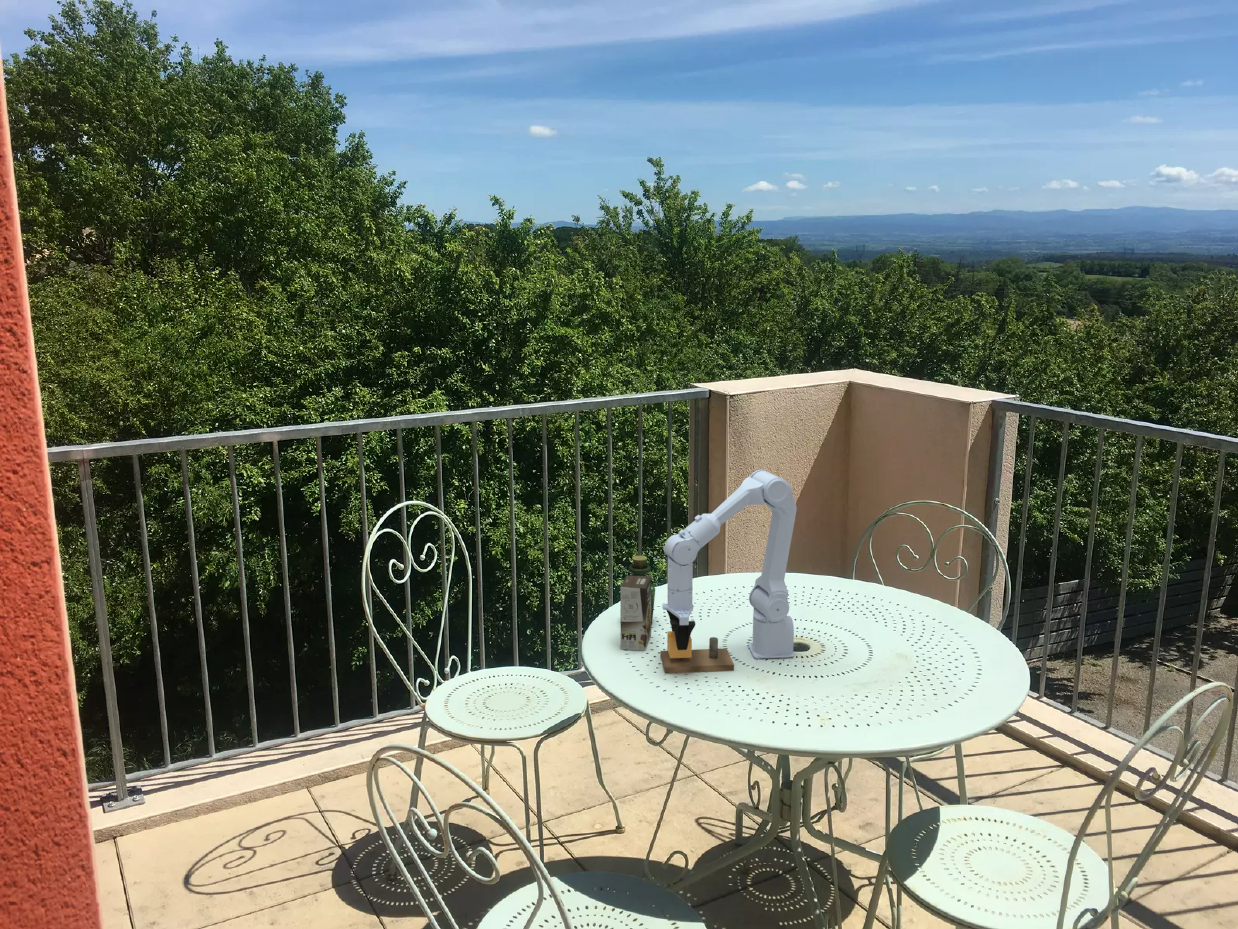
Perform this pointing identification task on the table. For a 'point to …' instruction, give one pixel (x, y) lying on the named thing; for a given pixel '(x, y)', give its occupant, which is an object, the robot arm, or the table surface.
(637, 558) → the potion bottle
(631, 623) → the coffee box
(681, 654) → the wooden toy cube
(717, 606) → the table surface
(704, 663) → the wooden peg board
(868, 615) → the table surface
